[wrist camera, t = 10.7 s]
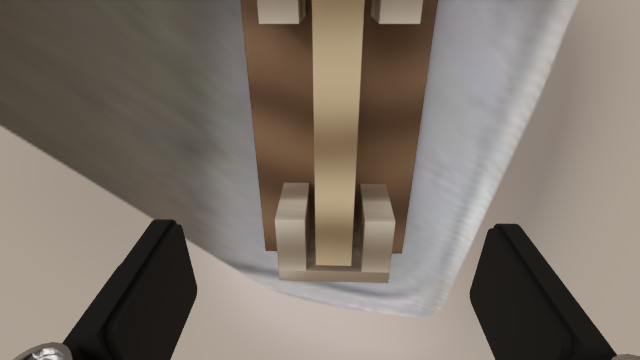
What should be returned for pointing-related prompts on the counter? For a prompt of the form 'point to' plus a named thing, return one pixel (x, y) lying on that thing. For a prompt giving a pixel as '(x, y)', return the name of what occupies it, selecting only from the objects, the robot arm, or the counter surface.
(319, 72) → the slat
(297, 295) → the counter surface
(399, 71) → the board
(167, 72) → the counter surface
